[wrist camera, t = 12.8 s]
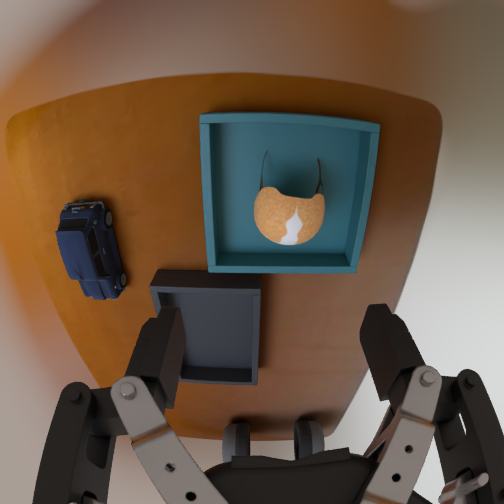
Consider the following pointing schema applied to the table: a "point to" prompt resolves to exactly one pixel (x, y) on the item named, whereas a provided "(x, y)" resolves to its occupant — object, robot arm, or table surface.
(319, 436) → the headphones
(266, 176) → the teal tray
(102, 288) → the toy car
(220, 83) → the table surface
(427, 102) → the table surface
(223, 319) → the charcoal tray
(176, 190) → the table surface
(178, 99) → the table surface
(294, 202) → the helmet
